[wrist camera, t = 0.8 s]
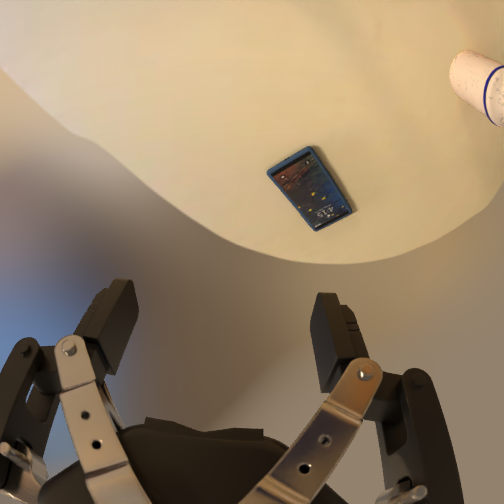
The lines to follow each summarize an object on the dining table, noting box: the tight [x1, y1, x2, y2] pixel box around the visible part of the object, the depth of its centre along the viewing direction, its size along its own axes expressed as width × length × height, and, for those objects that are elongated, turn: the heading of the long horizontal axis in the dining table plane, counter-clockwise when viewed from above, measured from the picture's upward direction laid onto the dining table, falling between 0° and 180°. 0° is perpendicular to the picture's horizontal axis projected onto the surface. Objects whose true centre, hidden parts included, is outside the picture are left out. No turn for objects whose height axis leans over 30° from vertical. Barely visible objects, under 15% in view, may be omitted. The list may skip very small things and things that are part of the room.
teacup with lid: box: [450, 51, 504, 127], centre depth 21 cm, size 12×9×12 cm
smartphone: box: [267, 146, 352, 231], centre depth 43 cm, size 8×1×15 cm
